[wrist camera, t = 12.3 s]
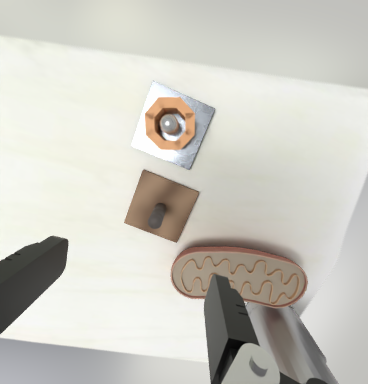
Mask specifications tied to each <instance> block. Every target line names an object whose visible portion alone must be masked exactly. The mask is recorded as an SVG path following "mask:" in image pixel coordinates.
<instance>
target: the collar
mask: <svg viewBox="0 0 368 384" xmlns="http://www.w3.org/2000/svg"><path fill="white" fill-rule="evenodd" d="M165 114H178V115H179V116H180V117H181V118H182V119H183V120H184V121H185V132H184V133H183V134H182V135H181V136H180V137H179V138H178V139H177V140H166V139H165V138H164V137H163V136H162V135H161V134H160V119H161V118H162V116H164V115H165ZM145 133H146V136H147V137H148V138H149V139H150V140H151V141H152V142H153V143H154V144H155V145H156V146H157V147H158V148H159V149H160V150H181V149H182V148H183V147H184V146H185V145H186V144H187V143H188V142H189V141H190V140H191V139H192V138H193V137H194V135H195V113H194V112H193V111H192V109H191V108H190V107H189V106H188V105H187V104H186V103H185V102H184V101H183V100H182V99H181V98H180V97H158V99H157V100H156V101H155V102H154V103H153V104H152V105H151V107H150V108H149V109H148V110H147V111H146V112H145Z"/></svg>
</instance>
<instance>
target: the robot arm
mask: <svg viewBox="0 0 368 384" xmlns="http://www.w3.org/2000/svg"><path fill="white" fill-rule="evenodd" d="M67 251H68V240H67V239H65V238H60V237H56V236H50V237H48V238H47V239H45V240H43V241H42V242H40V243H35V244H32V245H28V246H25V247H23V248H22V249H20V250H18V251H17V252H15V253H14V254H11V255H10V256H8V257H6V258H5V260H4V259H3V260H1V261H0V334H1V333H2V332H3V331H4V330H5V329H6V328H7V327H8V326H9V325H10V324H12V323H13V322H14V321H15V320H16V319H17V318H18V317H19V316H20V315H21V314H22V313H23V312H24V311H25V310H26V309H27V308H28V307H29V306H30V305H31V304H32V303H33V302H34V301H35V300H36V299H37V298H38V297H39V296H40V295H41V294H42V293H43V292H44V291H45V290H46V289H48V288H49V287H50V286H51V285H52V284H53V283H54V282H55V281H56V280H57V279H58V278H59V277H60V276H61V274H62V273H63V271H64V269H65V266H66V260H67ZM204 315H205V326H206V337H207V348H208V358H209V369H210V379H211V384H338V382H337V381H336V379H335V377H334V376H333V374H332V373H331V371H330V370H329V368H328V367H327V365H326V358H325V356H324V355H323V353H322V352H321V351H320V349H319V347H318V346H317V344H316V343H315V341H314V340H313V338H312V336H311V335H310V333H309V332H308V330H307V329H306V327H305V326H304V324H303V323H302V321H301V320H300V318H299V316H298V315H297V313H296V312H295V310H294V309H293V308H291V307H289V306H287V307H284V308H272V307H268V306H264V305H260V304H256V303H251V302H249V303H248V304H247V305H246V306H245V303H244V300H243V298H242V296H241V295H240V294H239V292H238V291H237V290H236V289H233V288H231V286H230V283H229V280H228V277H225V276H221V275H217V274H213V276H212V278H211V281H210V284H209V288H208V291H207V294H206V297H205V302H204Z"/></svg>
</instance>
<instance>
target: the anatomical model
mask: <svg viewBox="0 0 368 384" xmlns="http://www.w3.org/2000/svg"><path fill="white" fill-rule="evenodd" d="M213 274H217V275H221V276H225V277H228V280H229V283H230V286H231V288H233V289H236V290H237V291H238V292H239V294H240V295H241V296H242V298H243V300H244V301H246V302H251V303H256V304H260V305H264V306H268V307H272V308H284V307H287V306H290V305H292V304H294V303H296V302H297V301H298V300H299V299H300V298H301V297H302V296H303V295H304V293H305V291H306V289H307V284H308V281H307V276H306V274H305V272H304V271H303V269H302V268H301V267H299V266H298V265H297V264H296V263H294V262H293V261H291V260H289V259H287V258H284V257H281V256H277V255H273V254H269V253H265V252H261V251H257V250H253V249H247V248H240V247H227V246H222V247H192V248H188V249H186V250H184V251H183V252H181V253H180V254H179V255H178V256H177V258H176V259H175V261H174V263H173V265H172V269H171V281H172V284H173V286H174V288H175V289H176V290H177V291H178V292H179V293H180V294H182V295H183V296H185V297H188V298H191V299H205V297H206V294H207V291H208V288H209V284H210V281H211V278H212V276H213Z"/></svg>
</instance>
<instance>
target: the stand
mask: <svg viewBox="0 0 368 384" xmlns="http://www.w3.org/2000/svg"><path fill="white" fill-rule="evenodd" d="M198 194H199V192H198V191H195V190H193V189H190V188H188V187H185V186H183V185H181V184H178V183H176V182H173V181H171V180H168V179H166V178H163V177H161V176H158V175H156V174H154V173H151V172H149V171H146V170H143V171H142V174H141V177H140V180H139V182H138V185H137V188H136V191H135V194H134V196H133V199H132V202H131V205H130V207H129V210H128V213H127V216H126V219H125V221H124V223H126V224H128V225H131V226H134V227H136V228H139V229H142V230H144V231H147V232H150V233H152V234H155V235H157V236H160V237H163V238H165V239H168V240H171V241H173V242H176V243H177V241H178V239H179V236H180V234H181V232H182V230H183V228H184V225H185V223H186V221H187V219H188V216H189V214H190V212H191V210H192V208H193V205H194V203H195V201H196V199H197V196H198Z"/></svg>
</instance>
